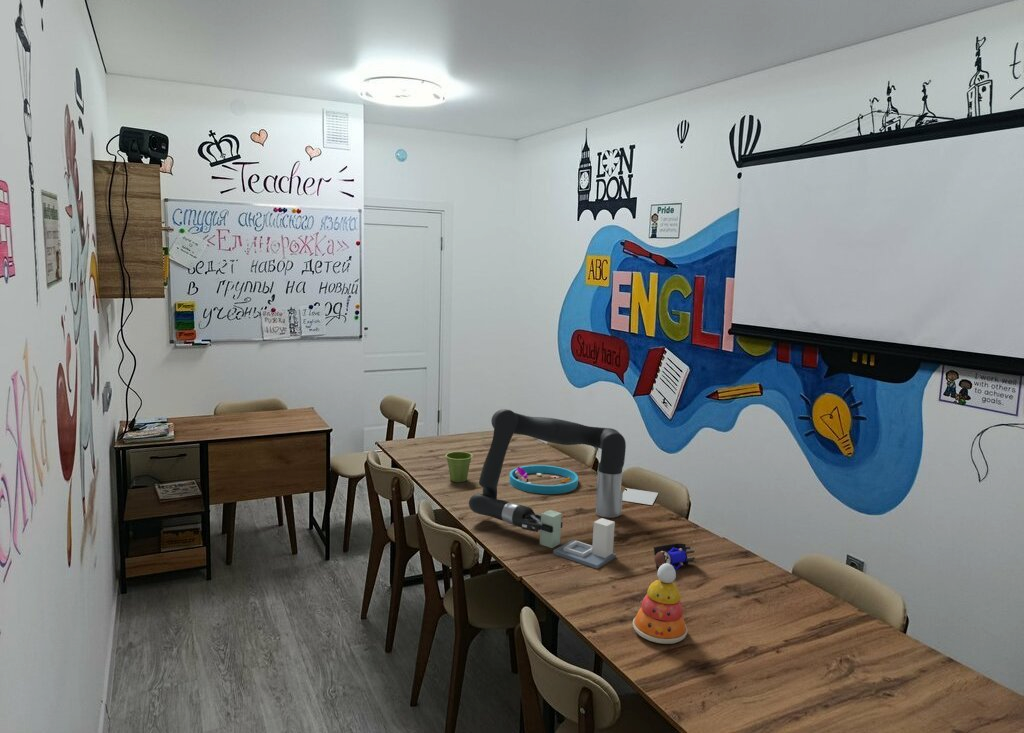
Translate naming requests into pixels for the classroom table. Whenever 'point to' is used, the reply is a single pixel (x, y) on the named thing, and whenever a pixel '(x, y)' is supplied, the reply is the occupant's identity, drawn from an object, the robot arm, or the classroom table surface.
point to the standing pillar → (603, 538)
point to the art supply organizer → (542, 489)
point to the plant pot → (458, 465)
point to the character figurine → (672, 555)
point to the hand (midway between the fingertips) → (557, 527)
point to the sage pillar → (555, 521)
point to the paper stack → (639, 496)
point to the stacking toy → (661, 610)
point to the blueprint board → (582, 554)
